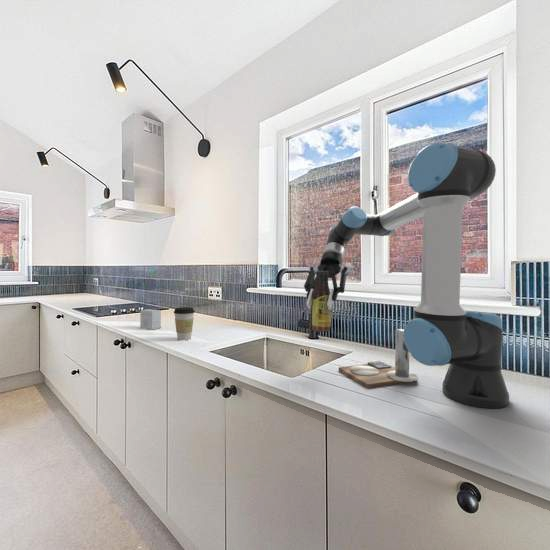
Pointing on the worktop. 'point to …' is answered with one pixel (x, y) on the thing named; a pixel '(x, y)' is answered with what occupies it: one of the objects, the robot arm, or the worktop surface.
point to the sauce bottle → (321, 304)
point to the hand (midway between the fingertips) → (318, 306)
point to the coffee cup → (184, 322)
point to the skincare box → (150, 319)
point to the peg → (401, 355)
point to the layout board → (375, 374)
